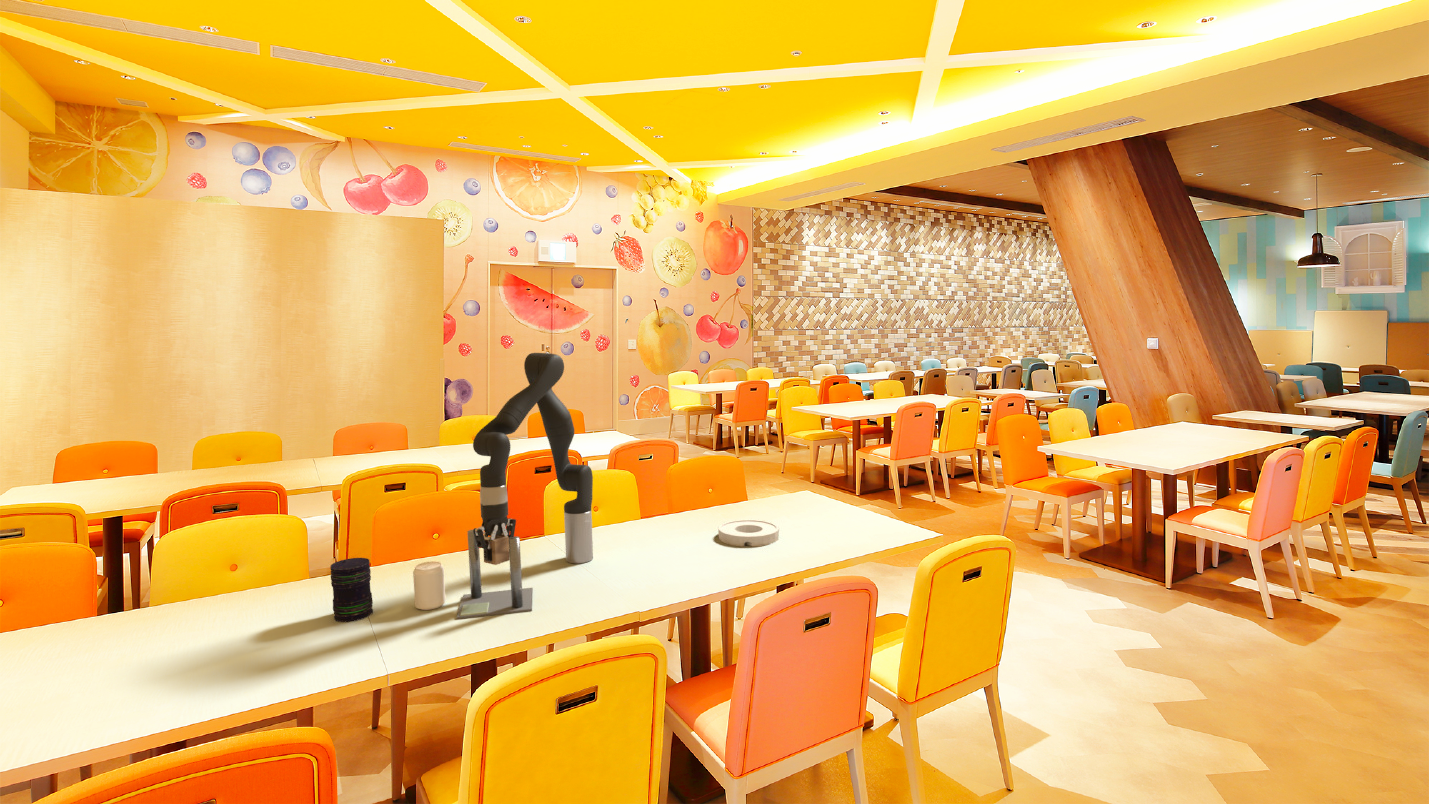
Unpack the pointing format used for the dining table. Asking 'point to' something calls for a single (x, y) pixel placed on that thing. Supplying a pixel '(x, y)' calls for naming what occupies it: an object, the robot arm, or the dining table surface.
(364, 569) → the black cylinder
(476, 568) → the post
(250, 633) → the dining table surface
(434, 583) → the beverage can
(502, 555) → the walnut block
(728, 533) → the ashtray
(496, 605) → the mat
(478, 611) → the pad
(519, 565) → the post
